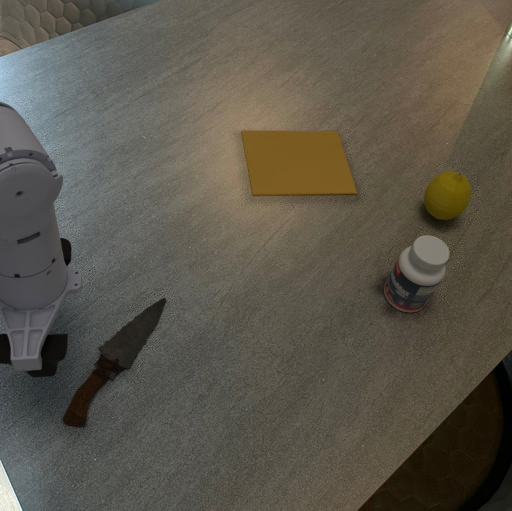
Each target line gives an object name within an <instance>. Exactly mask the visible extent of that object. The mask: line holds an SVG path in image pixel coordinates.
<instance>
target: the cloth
mask: <svg viewBox="0 0 512 511" xmlns="http://www.w3.org/2000/svg"><path fill="white" fill-rule="evenodd" d="M240 134H241V138H242V143H243V144H242V145H243V150H244V156H245V160H246V165H247V166H246V167H247V172H248V177H249V182H250V188H251V193H252V196H253V197H254V196H255V197H258V196H259V197H261V196H263V197H265V196H268V197H269V196H332V195H333V196H342V195H343V196H345V195H346V196H349V195H350V196H352V195H353V196H354V195H358V191H357V187H356V184H355V181H354V178H353V175H352V171H351V169H350V164H349V162H348V158H347V156H346V152H345V150H344V147H343V143H342V140H341V136H340V133H339V131H338V130H336V131H335V130H241V132H240Z"/></svg>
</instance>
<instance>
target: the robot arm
mask: <svg viewBox="0 0 512 511" xmlns="http://www.w3.org/2000/svg"><path fill="white" fill-rule="evenodd" d="M63 184H64V176H63V175H62V174H59V173H58V171H57V167H56V165H55V162H54V161H53V159H52V157H51V156H50V155H49V154H48V152H47V151H46V149H45V147H43V144H41V141H40V140H39V139H38V138H37V136H36V134H35V133H34V131H33V130H32V129H31V127H30V126H29V124H28V123H27V121H26V120H25V119H24V117H23V116H22V115H21V114H20V113H19V112H18V110H17V109H15V108H14V107H13V106H11V105H10V104H8V103H7V102H3V101H0V317H1V320H2V323H3V326H4V329H5V333H0V364H1V365H11V366H12V367H13V370H14V372H25V373H27V374H28V375H29V376H30V377H31V378H50V377H55V376H56V374H57V371H58V364H59V362H61V361H63V360H65V359H66V356H67V353H68V340H69V339H68V338H69V334H68V333H53V334H50V331H51V329H52V327H53V325H54V324H55V321H56V319H57V317H58V315H59V313H60V310H61V309H62V308H63V304H64V303H65V301H66V299H67V297H68V296H69V295H71V294H78V293H80V292H81V291H82V288H83V273H82V271H81V270H80V269H77V268H69V267H68V266H69V265H70V263H71V262H72V250H73V249H72V243H71V241H69V239H67V238H65V237H61V236H60V230H59V225H58V220H57V215H56V208H55V201H56V200H57V198H59V195H60V193H61V190H62V188H63Z"/></svg>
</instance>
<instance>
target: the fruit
mask: <svg viewBox="0 0 512 511" xmlns="http://www.w3.org/2000/svg"><path fill="white" fill-rule="evenodd" d="M424 190H425V191H424V193H423V194H424V195H423V202H424V207H425V209H426V210H427V213H429V214H430V215H431V216H432V217H433V218H435V219H436V220H439V221H441V220H443V221H449V220H451V219H455V218H457V217H459V216H460V215H462V213H464V212H465V211H466V210H467V208H468V207H469V204H470V201H471V197H472V186H471V183H470V181H469V179H468V178H467V177H466V176H465V175H463V174H462V173H460V172H457V171H454V170H447V171H442V172H441V173H439V174H438V175H437V176H435V177H433V178H432V179H431V180H430V181H429V182H428V184H427V186H426V188H425V189H424Z"/></svg>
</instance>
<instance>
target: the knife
mask: <svg viewBox="0 0 512 511" xmlns="http://www.w3.org/2000/svg"><path fill="white" fill-rule="evenodd" d="M166 302H167V298H166V297H163V298H161V299H160V300H157V301H156V302H154V303H152V304H151V305H149V306H148V307H147V308H145V309H144V310H143V311H141V312H140V313H139V314H138V315H136V316H134V318H133V320H130V321H128V322H127V324H126V325H124V326H123V325H122V327H121V328H120V330H118V331H117V332H116V333H115V335H112V336H111V338H110V339H109V340H105V341H104V344H103V345H100V346H98V347H97V349H98V351H99V352H100V353H101V354H100V356H99V358H98V360H96V361H95V362H94V363H93V364H92V365H93V366H94V367H96V368H94V369H93V370H92V371H91V374H90V375H89V376H88V377H87V378H86V380H85V381H84V382H83V384H81V385H80V387H78V388H77V390H76V391H75V393H74V395H73V396H72V398H71V399H70V402H69V405H68V406H67V408H66V411H65V413H64V414H63V416H62V421H63V423H64V424H65V425H66V426H70V427H79V428H80V427H81V428H82V427H83V426H85V424H86V422H87V415H88V413H87V410H88V407H89V404H90V401H91V399H92V397H93V396H94V394H95V393H96V392H97V391H98V389H99V388H100V387H101V386H102V385H103V384H105V383H106V381H107V380H108V378H110V379H111V380H115V378H116V377H115V376H116V375H118V374H119V372H121V371H123V370H124V369H127V370H130V369H131V366H132V365H133V363H134V361H135V359H136V358H137V357H138V353H139V351H142V349H143V348H142V347H143V346H144V345H145V344H147V339H148V338H149V336H150V334H151V333H152V332H153V331H154V330H155V327H156V326H157V325H158V323H159V320H160V317H161V315H162V314H163V310H164V307H165V304H166Z"/></svg>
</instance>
